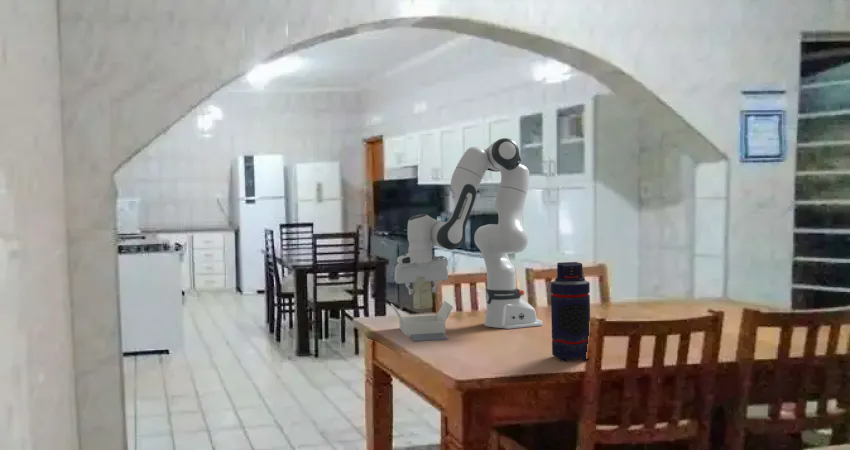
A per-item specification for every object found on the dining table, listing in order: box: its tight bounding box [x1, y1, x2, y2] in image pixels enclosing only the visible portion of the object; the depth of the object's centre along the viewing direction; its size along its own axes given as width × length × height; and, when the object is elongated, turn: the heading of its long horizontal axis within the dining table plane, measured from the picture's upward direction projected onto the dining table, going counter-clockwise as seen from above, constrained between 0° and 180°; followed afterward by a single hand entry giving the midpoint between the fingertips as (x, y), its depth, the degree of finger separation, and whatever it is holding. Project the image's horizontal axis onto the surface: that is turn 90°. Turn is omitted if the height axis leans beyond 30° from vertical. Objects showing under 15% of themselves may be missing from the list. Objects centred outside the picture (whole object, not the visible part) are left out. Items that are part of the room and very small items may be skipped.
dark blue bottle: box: [550, 261, 591, 363], centre depth 251 cm, size 14×12×30 cm
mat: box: [409, 333, 448, 343], centre depth 290 cm, size 12×10×1 cm
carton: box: [390, 300, 454, 336], centre depth 304 cm, size 22×15×10 cm
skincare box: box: [412, 277, 433, 310], centre depth 304 cm, size 6×4×12 cm
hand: (422, 293), depth 304 cm, fingers closed on skincare box, 7 cm apart
